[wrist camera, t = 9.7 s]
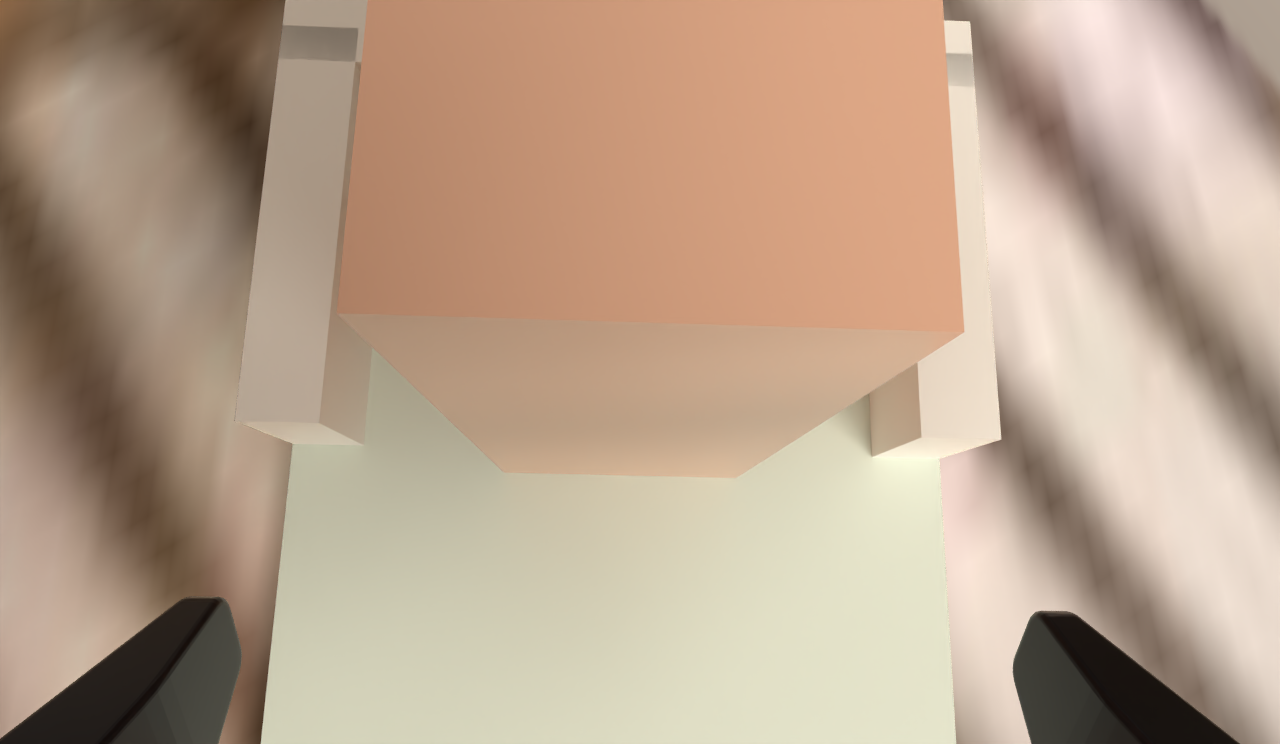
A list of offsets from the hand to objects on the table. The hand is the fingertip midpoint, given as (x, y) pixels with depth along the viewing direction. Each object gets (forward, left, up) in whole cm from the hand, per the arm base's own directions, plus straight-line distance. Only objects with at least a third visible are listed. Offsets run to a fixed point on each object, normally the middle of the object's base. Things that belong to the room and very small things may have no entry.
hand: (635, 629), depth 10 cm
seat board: (+3, +2, -10) cm, 10 cm away
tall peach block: (+5, +3, -9) cm, 10 cm away
